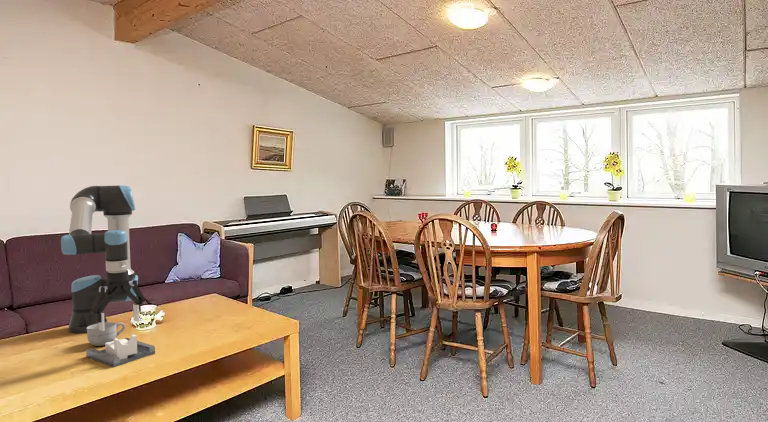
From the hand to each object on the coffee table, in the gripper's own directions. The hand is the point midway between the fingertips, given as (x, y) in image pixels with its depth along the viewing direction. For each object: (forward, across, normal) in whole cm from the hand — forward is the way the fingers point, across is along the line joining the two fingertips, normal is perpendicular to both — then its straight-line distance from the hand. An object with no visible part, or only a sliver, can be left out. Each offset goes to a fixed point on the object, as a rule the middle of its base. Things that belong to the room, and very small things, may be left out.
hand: (119, 325), depth 190 cm
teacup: (+12, +5, +18) cm, 23 cm away
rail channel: (+12, 0, -1) cm, 12 cm away
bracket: (+11, -1, -2) cm, 11 cm away
